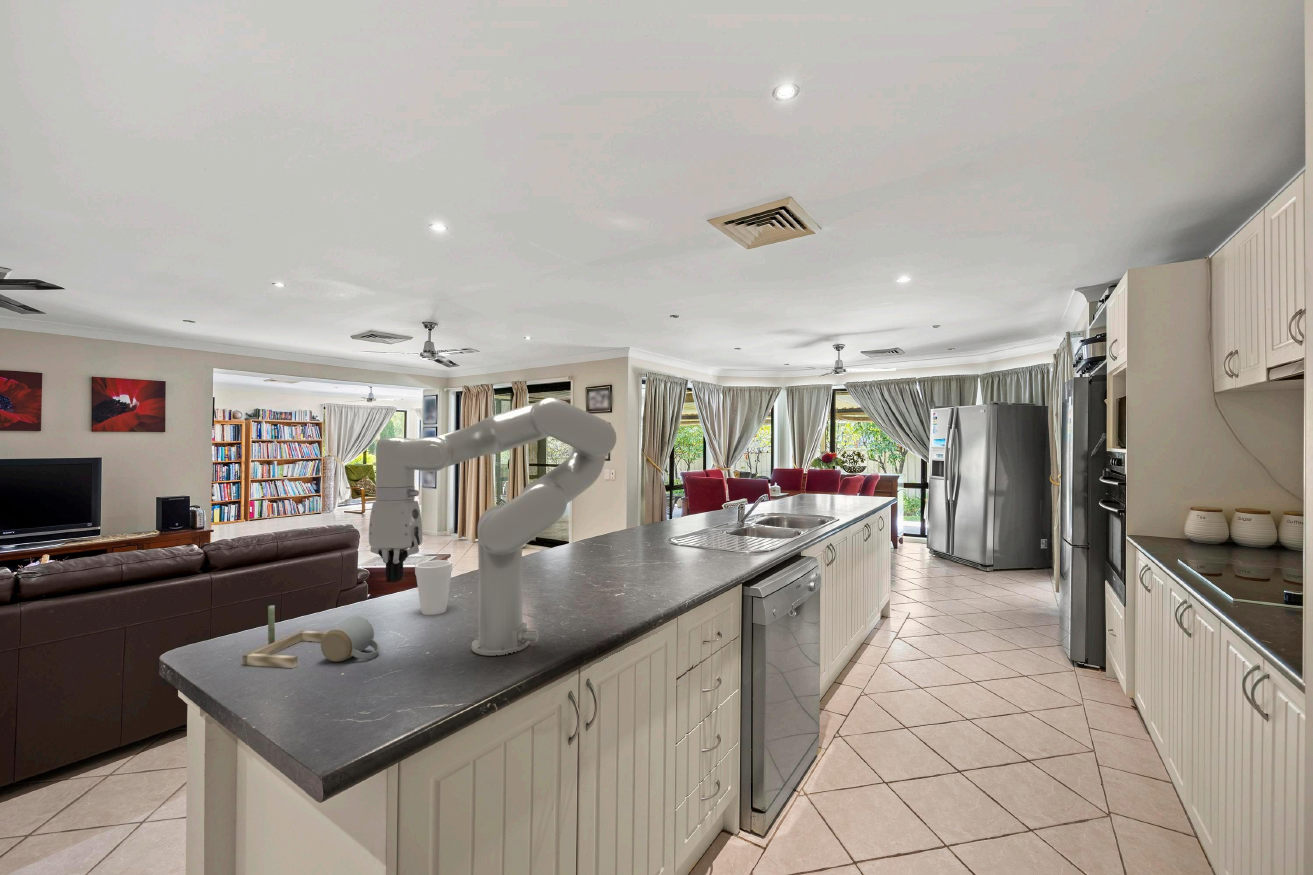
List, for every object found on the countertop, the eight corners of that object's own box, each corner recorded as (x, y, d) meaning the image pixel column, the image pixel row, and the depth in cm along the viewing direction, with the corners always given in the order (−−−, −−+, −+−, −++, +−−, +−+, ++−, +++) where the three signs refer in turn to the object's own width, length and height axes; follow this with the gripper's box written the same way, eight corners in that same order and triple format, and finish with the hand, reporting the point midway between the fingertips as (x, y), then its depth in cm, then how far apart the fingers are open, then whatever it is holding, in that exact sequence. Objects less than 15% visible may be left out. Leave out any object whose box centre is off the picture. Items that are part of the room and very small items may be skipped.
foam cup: (407, 615, 148) (407, 567, 148) (427, 605, 157) (427, 559, 157) (440, 617, 146) (440, 568, 146) (458, 607, 155) (458, 560, 155)
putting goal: (346, 641, 129) (346, 598, 129) (292, 668, 113) (292, 619, 114) (297, 638, 131) (296, 596, 131) (237, 664, 116) (237, 616, 116)
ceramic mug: (317, 663, 116) (317, 626, 116) (342, 649, 124) (342, 614, 124) (365, 665, 115) (366, 628, 115) (387, 650, 123) (388, 616, 123)
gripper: (437, 494, 121) (436, 578, 120) (375, 493, 123) (374, 575, 123) (416, 497, 113) (415, 586, 113) (351, 496, 116) (350, 583, 116)
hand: (394, 580), depth 118 cm, fingers closed
